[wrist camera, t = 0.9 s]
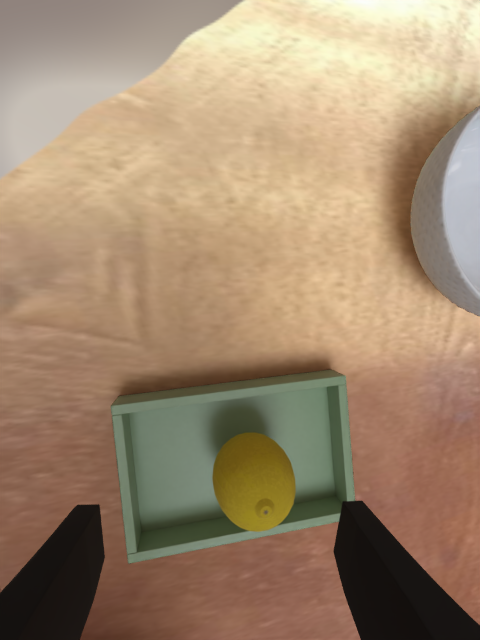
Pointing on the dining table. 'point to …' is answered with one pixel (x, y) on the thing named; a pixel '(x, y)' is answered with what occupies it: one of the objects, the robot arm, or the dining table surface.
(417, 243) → the cereal bowl
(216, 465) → the lemon
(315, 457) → the tray
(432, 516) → the dining table surface
